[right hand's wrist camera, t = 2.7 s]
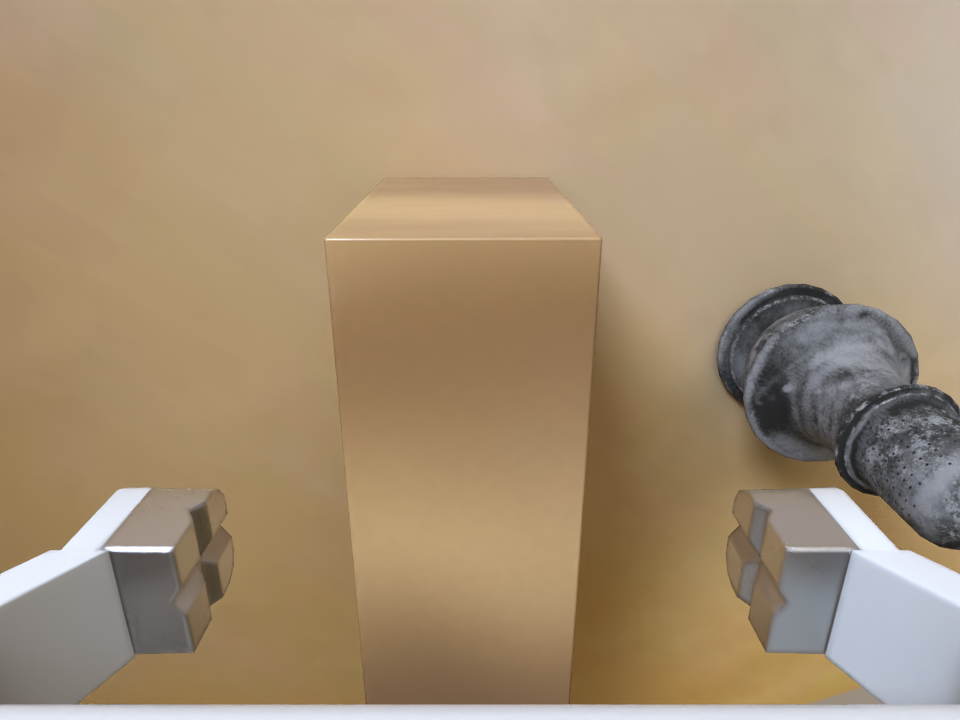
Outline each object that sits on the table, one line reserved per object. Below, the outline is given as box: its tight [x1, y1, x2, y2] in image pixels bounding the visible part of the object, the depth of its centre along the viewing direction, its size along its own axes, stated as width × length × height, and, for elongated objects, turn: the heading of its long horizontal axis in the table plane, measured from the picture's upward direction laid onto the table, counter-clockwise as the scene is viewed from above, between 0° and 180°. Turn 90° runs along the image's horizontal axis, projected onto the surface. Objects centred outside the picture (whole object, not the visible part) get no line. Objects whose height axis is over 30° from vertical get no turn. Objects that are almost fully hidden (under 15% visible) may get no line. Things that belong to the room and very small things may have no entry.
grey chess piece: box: [717, 284, 960, 550], centre depth 20 cm, size 6×6×12 cm
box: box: [324, 178, 602, 704], centre depth 24 cm, size 27×6×10 cm, turn 0°
